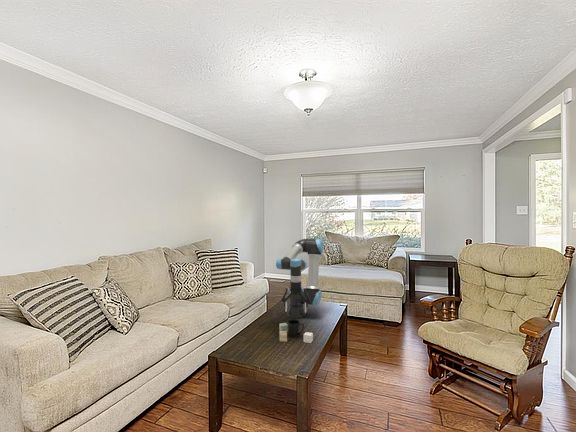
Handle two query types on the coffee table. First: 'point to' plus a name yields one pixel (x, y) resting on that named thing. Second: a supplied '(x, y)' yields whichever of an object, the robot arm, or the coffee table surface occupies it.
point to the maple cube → (283, 336)
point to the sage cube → (283, 327)
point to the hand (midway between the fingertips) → (295, 311)
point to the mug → (294, 327)
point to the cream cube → (308, 337)
